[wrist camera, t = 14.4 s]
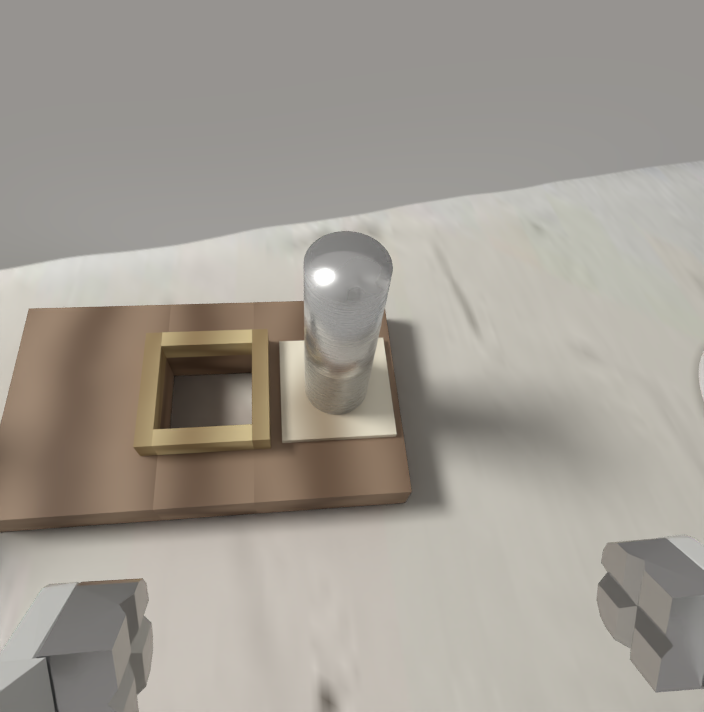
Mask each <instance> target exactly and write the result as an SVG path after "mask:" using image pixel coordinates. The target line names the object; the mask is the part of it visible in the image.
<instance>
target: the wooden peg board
mask: <svg viewBox="0 0 704 712" xmlns="http://www.w3.org/2000/svg"><path fill="white" fill-rule="evenodd" d="M229 373H252V424H248V425H229V426H210V427H191V428H172V429H170V422H171V409H172V396H173V384H174V376H182V375H206V374H229ZM411 492H412V490H411V483H410V476H409V469H408V462H407V456H406V449H405V442H404V435H403V428H402V422H401V415H400V408H399V401H398V394H397V388H396V381H395V374H394V367H393V360H392V354H391V347H390V340H389V333H388V326H387V320H386V313H385V309H384V314H383V318H382V323H381V328H380V332H379V337H378V342H377V346H376V351H375V356H374V361H373V365H372V370H371V375H370V379H369V384H368V389H367V393H366V396H365V399H364V400H363V402H362V403H361V405H360V406H359V407H357V408H356V409H355V410H353V411H351V412H349V413H346V414H340V415H333V414H327V413H324V412H322V411H320V410H318V409H317V408H315V407H314V406H313V405H312V404H311V402H310V401H309V400H308V398H307V396H306V392H305V363H304V301H290V302H254V303H218V304H181V305H145V306H109V307H72V308H36V309H29V310H28V315H27V319H26V323H25V327H24V331H23V335H22V339H21V343H20V347H19V351H18V355H17V359H16V363H15V367H14V371H13V376H12V380H11V384H10V388H9V392H8V396H7V400H6V404H5V408H4V412H3V416H2V420H1V424H0V532H6V531H20V530H34V529H48V528H62V527H76V526H90V525H104V524H118V523H132V522H146V521H160V520H174V519H188V518H201V517H215V516H229V515H243V514H257V513H271V512H285V511H299V510H313V509H327V508H341V507H355V506H369V505H383V504H397V503H405V502H406V500H407V499H408V497H409V495H410V494H411Z"/></svg>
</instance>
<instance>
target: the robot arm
mask: <svg viewBox="0 0 704 712" xmlns="http://www.w3.org/2000/svg"><path fill="white" fill-rule="evenodd" d="M699 384H700V389H701V393H702V397H703V400H704V351H703V353H702V356H701V359H700V364H699ZM601 563H602V565H603V566H604V568H605V569H606V571H607V574H606V575H605V576H604V577H603V578H602V580H601V581H600V582H599V583H598V591H597V604H598V608H599V613H600V617H601V619H602V621H603V623H604V625H605V627H606V629H607V630H608V632H609V633H610V634H611V636H612V637H613V638H614V639H615V640H616V641H618V642H620V643H622V644H623V645H625V646H627V647H629V648H630V660H631V662H632V663H633V664H634V666H635V667H636V668H637V669H638V671H639V672H640V673H641V674H642V676H643V677H644V678H645V680H646V681H647V682H648V683H649V685H650V686H651V687H652V689H653V690H654V691H655V692H667V691H679V690H692V689H704V545H703V544H701V543H700V542H699V541H698V540H696V539H695V538H693V537H691V536H688V535H676V536H667V537H659V538H656V539H645V540H633V541H622V542H610V543H607V544H606V546H605V548H604V549H603V553H602V560H601ZM148 601H149V597H148V591H147V584H146V582H145V581H144V579H143V578H142V579H124V580H107V581H89V582H81V583H78V582H74V583H61V584H49V585H47V586H45V587H44V588H42V589H41V590H40V592H39V594H38V595H37V597H36V598H35V600H34V601H33V603H32V604H31V606H30V608H29V609H28V611H27V612H26V614H25V615H24V617H23V618H22V620H21V622H20V623H19V625H18V626H17V628H16V629H15V631H14V632H13V634H12V636H11V637H10V639H9V640H8V642H7V643H6V645H5V646H4V648H3V650H2V651H1V653H0V712H139V709H138V701H137V695H138V694H139V693H140V692H141V691H142V690H143V689H144V688H145V687H146V685H147V681H148V677H149V674H150V669H151V662H152V654H153V632H152V623H151V622H150V621H149V620H148V619H147V618H146V617H145V616H144V613H145V610H146V607H147V604H148Z"/></svg>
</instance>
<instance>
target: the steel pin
mask: <svg viewBox="0 0 704 712" xmlns="http://www.w3.org/2000/svg"><path fill="white" fill-rule="evenodd" d="M392 270H393V266H392V260H391V257H390V255H389V253H388V252H387V250H386V249H385V248H384V247H383V246H382V245H381V244H380V243H379V242H378V241H376V240H375V239H373V238H372V237H369V236H367V235H365V234H362V233H357V232H351V231H341V232H334V233H330V234H327V235H325V236H323V237H321V238H319V239H318V240H316V241H315V242H314V243H313V244H312V245H311V246H310V247H309V249H308V250H307V252H306V254H305V257H304V363H305V392H306V396H307V398H308V400H309V401H310V402H311V404H312V405H313V406H314V407H315V408H317V409H318V410H320V411H322V412H324V413H327V414H333V415H340V414H346V413H349V412H351V411H353V410H355V409H356V408H357V407H359V406H360V405H361V403H362V402H363V400H364V399H365V396H366V393H367V389H368V384H369V379H370V375H371V370H372V365H373V361H374V356H375V351H376V346H377V342H378V337H379V332H380V328H381V323H382V318H383V314H384V309H385V304H386V300H387V295H388V290H389V286H390V281H391V276H392Z"/></svg>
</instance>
